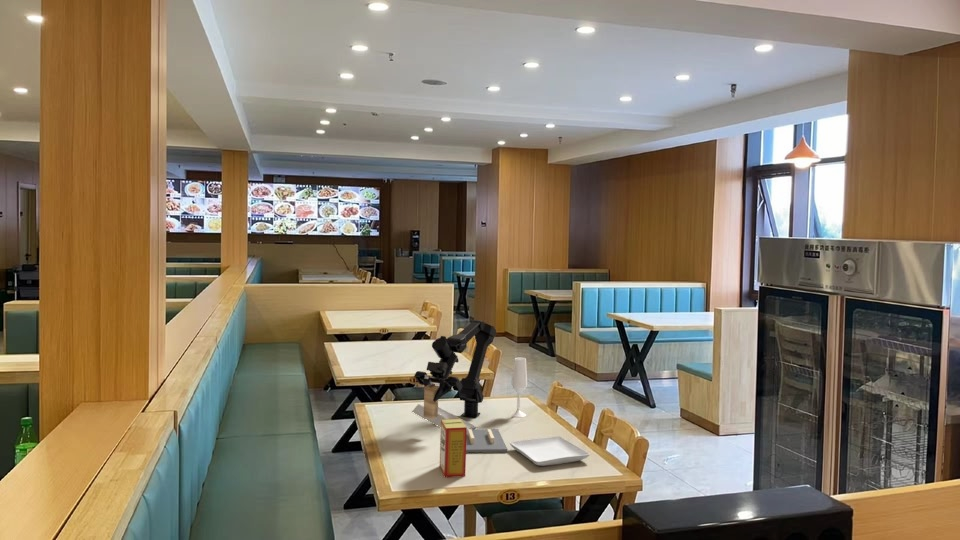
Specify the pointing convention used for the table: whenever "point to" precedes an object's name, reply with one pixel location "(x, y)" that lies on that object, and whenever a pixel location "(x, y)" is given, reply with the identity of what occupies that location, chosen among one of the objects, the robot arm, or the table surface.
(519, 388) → the champagne flute
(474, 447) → the groove board
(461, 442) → the baking soda box
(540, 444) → the salad plate
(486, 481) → the table surface
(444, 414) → the crown molding
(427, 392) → the wooden board
